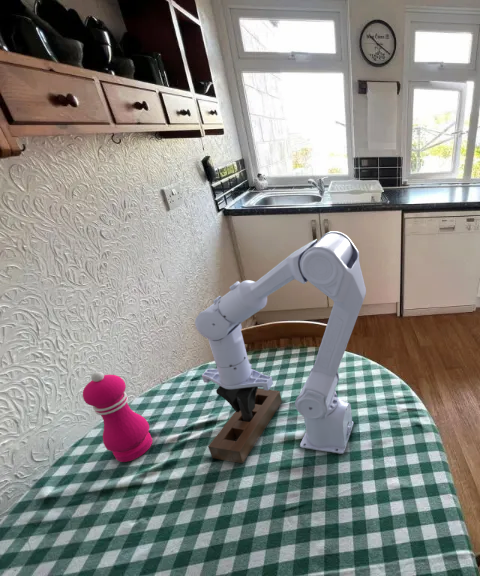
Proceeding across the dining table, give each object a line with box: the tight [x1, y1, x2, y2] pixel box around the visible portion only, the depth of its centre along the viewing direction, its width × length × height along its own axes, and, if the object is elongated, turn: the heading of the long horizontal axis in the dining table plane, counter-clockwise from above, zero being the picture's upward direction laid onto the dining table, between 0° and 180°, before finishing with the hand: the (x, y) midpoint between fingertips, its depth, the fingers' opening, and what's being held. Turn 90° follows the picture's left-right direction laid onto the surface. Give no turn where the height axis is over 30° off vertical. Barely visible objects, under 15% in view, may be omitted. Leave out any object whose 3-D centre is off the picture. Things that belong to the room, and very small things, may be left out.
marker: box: [237, 397, 253, 422], centre depth 67 cm, size 2×2×9 cm
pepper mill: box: [82, 371, 153, 463], centre depth 61 cm, size 7×7×20 cm
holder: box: [207, 387, 283, 464], centre depth 69 cm, size 7×16×4 cm, turn 170°
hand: (245, 409), depth 67 cm, fingers closed on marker, 2 cm apart
